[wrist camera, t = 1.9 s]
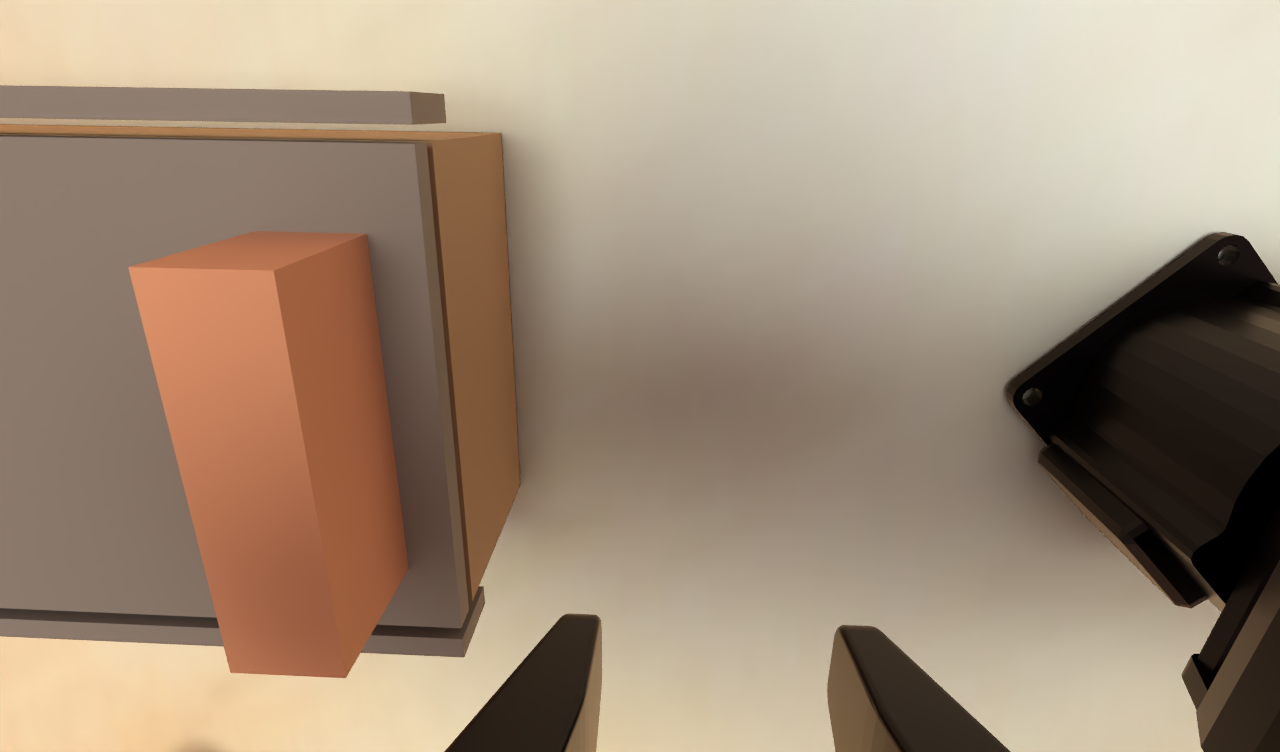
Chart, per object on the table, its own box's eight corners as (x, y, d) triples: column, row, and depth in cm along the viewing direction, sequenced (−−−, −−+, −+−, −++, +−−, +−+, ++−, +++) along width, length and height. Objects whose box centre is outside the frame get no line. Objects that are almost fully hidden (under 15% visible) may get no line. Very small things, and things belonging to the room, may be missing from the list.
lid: (443, 93, 13) (321, 85, 8) (484, 603, 17) (417, 779, 13) (-322, 83, 13) (-818, 68, 9) (-101, 578, 18) (-366, 738, 13)
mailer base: (501, 132, 17) (432, 142, 12) (520, 484, 21) (472, 600, 16) (-77, 123, 18) (-365, 127, 13) (38, 467, 21) (-152, 574, 16)
